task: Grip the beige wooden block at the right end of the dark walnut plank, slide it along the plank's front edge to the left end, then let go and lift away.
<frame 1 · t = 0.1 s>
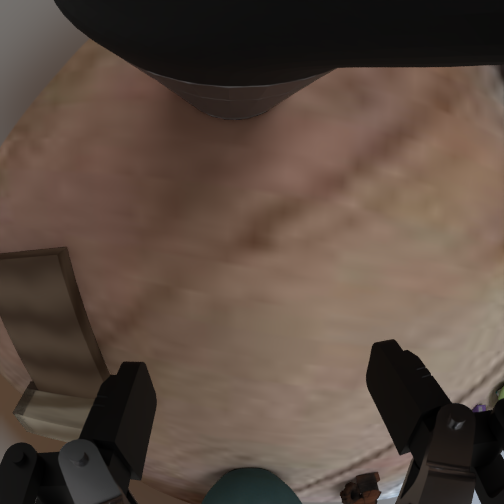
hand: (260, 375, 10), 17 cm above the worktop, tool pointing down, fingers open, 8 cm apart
walnut plank: (60, 351, 30), on the worktop
figurine: (501, 397, 44), on the worktop
plant pot: (248, 476, 43), on the worktop
beige wooden block: (78, 406, 31), point 2 cm above the worktop, touching walnut plank
pottery mug: (355, 481, 48), on the worktop
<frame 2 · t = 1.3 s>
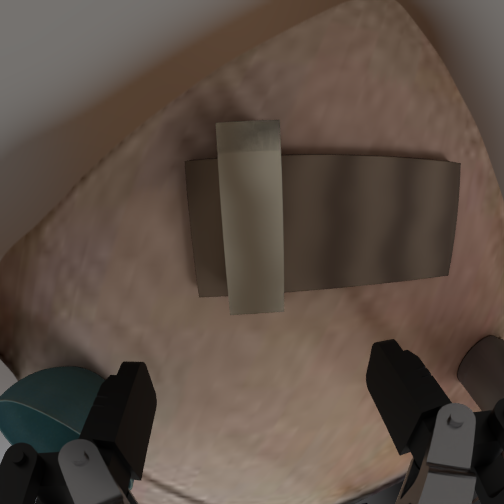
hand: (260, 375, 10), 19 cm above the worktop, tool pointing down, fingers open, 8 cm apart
walnut plank: (336, 219, 28), on the worktop
plant pot: (88, 388, 34), on the worktop
beige wooden block: (251, 229, 26), point 2 cm above the worktop, touching walnut plank
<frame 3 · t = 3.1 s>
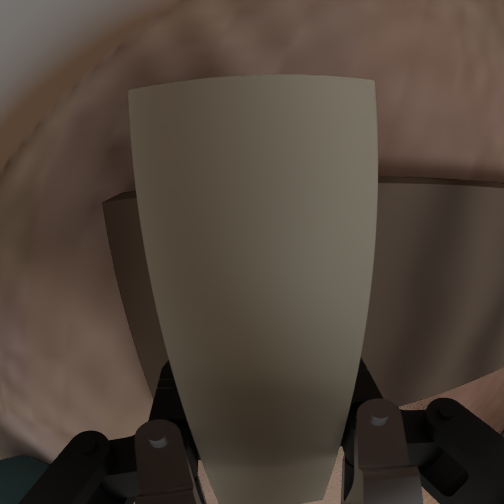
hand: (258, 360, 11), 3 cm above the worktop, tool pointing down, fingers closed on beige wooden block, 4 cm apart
walnut plank: (411, 297, 14), on the worktop
plant pot: (51, 476, 20), on the worktop
beige wooden block: (257, 343, 12), point 2 cm above the worktop, touching gripper, walnut plank
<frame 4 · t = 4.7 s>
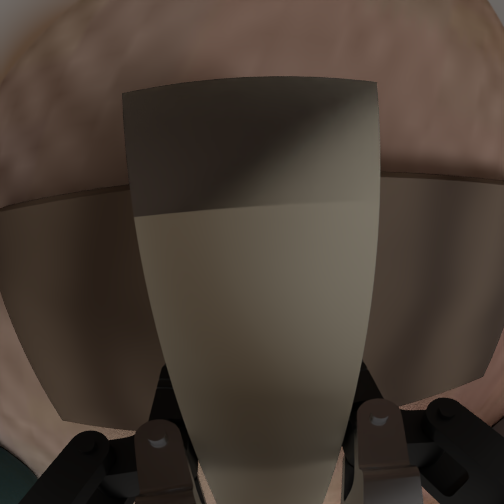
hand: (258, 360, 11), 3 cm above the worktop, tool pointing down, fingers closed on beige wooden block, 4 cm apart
walnut plank: (287, 310, 13), on the worktop
plant pot: (8, 460, 20), on the worktop
beige wooden block: (257, 347, 12), point 2 cm above the worktop, touching gripper
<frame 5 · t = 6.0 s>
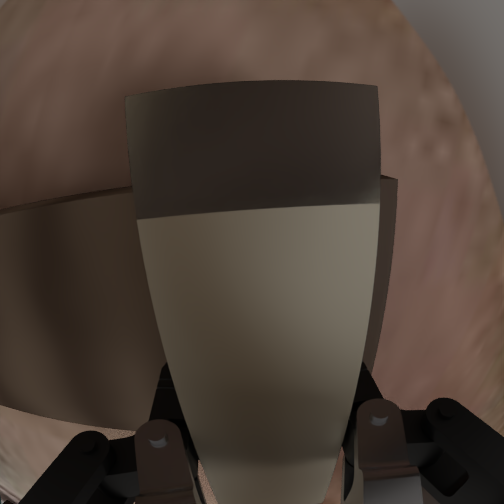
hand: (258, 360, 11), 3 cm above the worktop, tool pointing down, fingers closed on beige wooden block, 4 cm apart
walnut plank: (93, 320, 13), on the worktop
beige wooden block: (257, 347, 12), point 2 cm above the worktop, touching gripper
pottery mug: (11, 500, 27), on the worktop
when the fingers open (3 cm above the worktop, at t = 6.4 s): beige wooden block stays where it is, resting on walnut plank.
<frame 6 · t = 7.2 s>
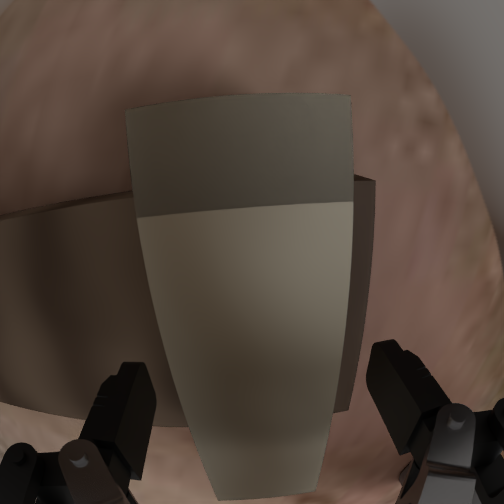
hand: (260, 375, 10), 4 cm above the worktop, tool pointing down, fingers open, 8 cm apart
walnut plank: (90, 318, 14), on the worktop
beige wooden block: (251, 339, 12), point 2 cm above the worktop, touching walnut plank
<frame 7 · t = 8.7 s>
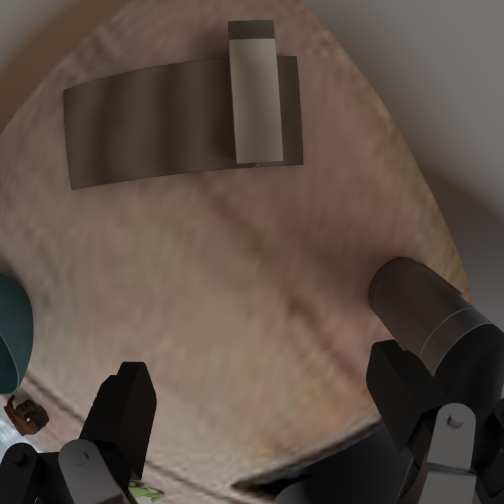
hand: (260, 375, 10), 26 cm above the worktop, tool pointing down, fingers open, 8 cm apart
walnut plank: (177, 119, 30), on the worktop
figurine: (110, 478, 56), on the worktop
plant pot: (12, 300, 37), on the worktop
beige wooden block: (252, 112, 29), point 2 cm above the worktop, touching walnut plank
pottery mug: (31, 404, 45), on the worktop
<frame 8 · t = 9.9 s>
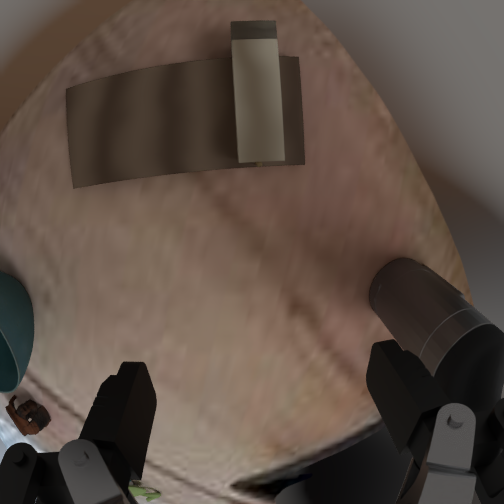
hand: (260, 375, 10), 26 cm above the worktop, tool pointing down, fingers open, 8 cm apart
walnut plank: (179, 118, 30), on the worktop
figurine: (106, 476, 55), on the worktop
plant pot: (13, 299, 37), on the worktop
beige wooden block: (254, 111, 29), point 2 cm above the worktop, touching walnut plank
pottery mug: (32, 404, 45), on the worktop
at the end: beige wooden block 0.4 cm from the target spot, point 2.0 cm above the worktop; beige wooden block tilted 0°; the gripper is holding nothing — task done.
